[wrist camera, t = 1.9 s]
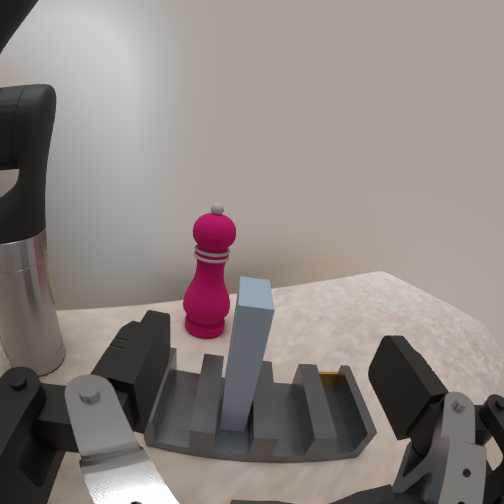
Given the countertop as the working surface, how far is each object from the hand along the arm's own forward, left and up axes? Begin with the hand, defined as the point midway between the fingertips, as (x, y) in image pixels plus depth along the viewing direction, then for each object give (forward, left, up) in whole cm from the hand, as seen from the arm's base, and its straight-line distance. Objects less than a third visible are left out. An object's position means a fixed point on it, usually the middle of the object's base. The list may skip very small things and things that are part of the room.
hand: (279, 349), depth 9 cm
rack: (+3, +11, -20) cm, 23 cm away
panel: (0, +11, -18) cm, 21 cm away
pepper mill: (-5, +29, -20) cm, 36 cm away
